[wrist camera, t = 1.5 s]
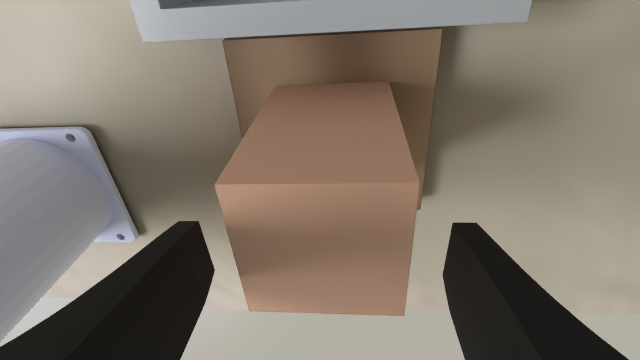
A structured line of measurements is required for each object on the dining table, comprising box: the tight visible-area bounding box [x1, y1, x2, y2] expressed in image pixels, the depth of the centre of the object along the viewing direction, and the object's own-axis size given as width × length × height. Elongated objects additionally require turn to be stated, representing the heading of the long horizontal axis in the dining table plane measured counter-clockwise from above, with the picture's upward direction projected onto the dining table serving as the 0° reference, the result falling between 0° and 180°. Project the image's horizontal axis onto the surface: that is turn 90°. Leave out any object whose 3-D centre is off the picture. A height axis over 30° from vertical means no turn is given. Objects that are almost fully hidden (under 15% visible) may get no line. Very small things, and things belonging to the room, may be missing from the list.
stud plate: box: [223, 26, 443, 210], centre depth 15 cm, size 9×9×4 cm
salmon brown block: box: [214, 81, 420, 316], centre depth 13 cm, size 5×5×8 cm
